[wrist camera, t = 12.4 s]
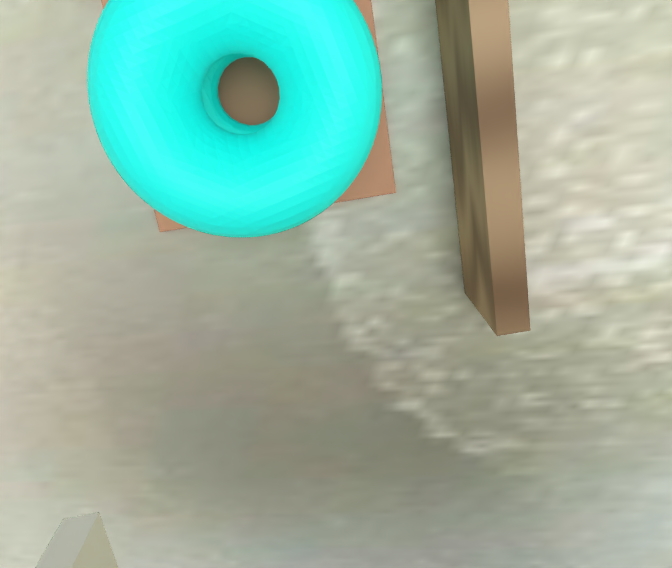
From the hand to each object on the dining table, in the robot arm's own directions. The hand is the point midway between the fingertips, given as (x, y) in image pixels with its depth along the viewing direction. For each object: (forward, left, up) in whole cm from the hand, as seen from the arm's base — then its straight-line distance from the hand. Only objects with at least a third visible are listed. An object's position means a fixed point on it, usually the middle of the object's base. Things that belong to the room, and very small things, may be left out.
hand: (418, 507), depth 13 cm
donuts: (+9, +3, -21) cm, 23 cm away
